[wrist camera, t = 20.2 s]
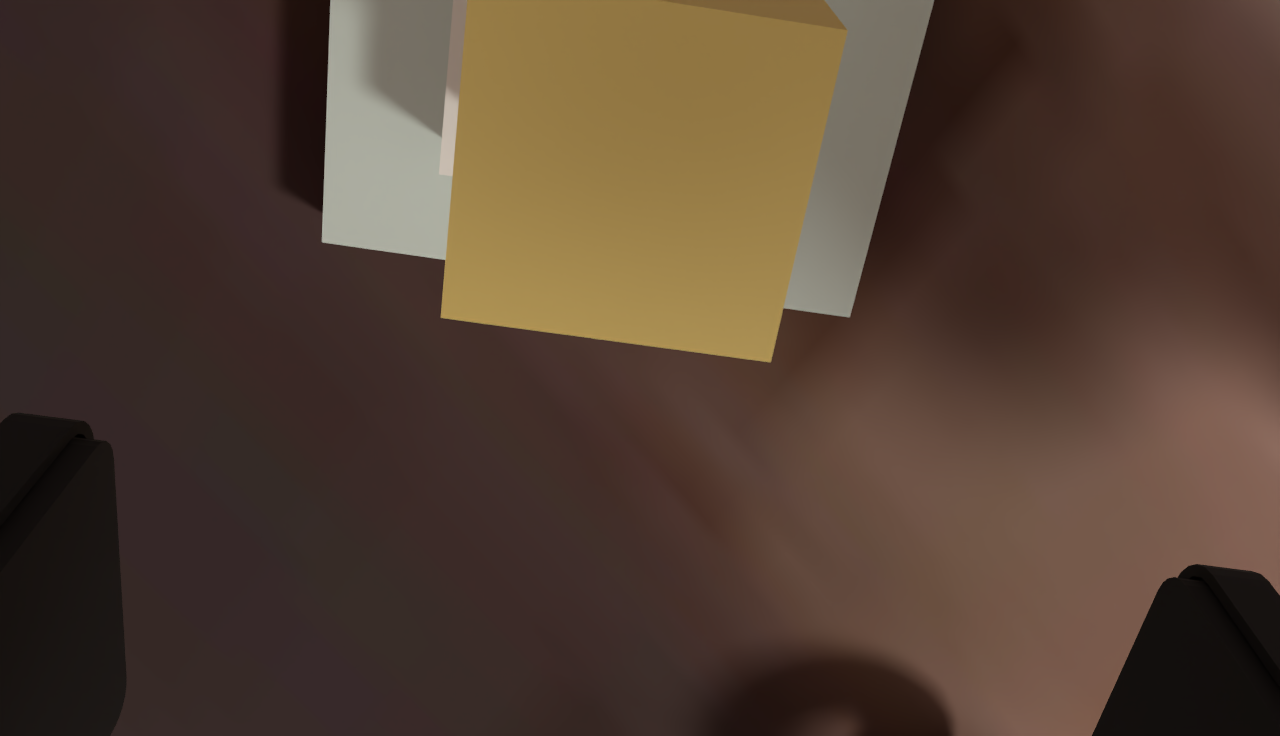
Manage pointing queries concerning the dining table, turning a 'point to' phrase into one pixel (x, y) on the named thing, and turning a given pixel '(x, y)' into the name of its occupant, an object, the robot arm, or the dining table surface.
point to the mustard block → (637, 166)
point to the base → (413, 122)
